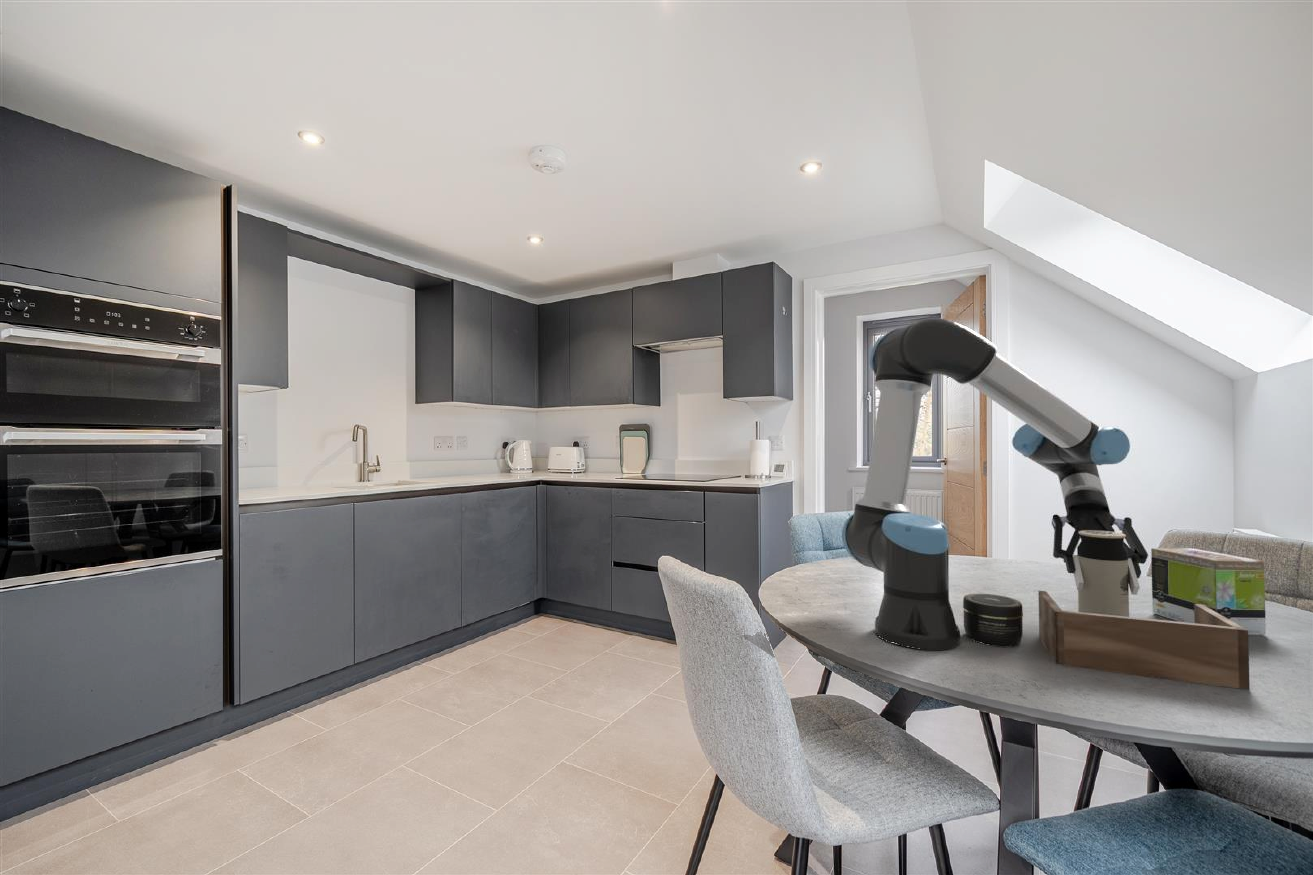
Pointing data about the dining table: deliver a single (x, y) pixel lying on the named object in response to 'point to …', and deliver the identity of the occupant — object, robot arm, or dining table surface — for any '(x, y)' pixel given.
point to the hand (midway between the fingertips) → (1107, 588)
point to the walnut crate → (1148, 645)
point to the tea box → (1208, 586)
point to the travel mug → (1103, 573)
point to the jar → (993, 619)
